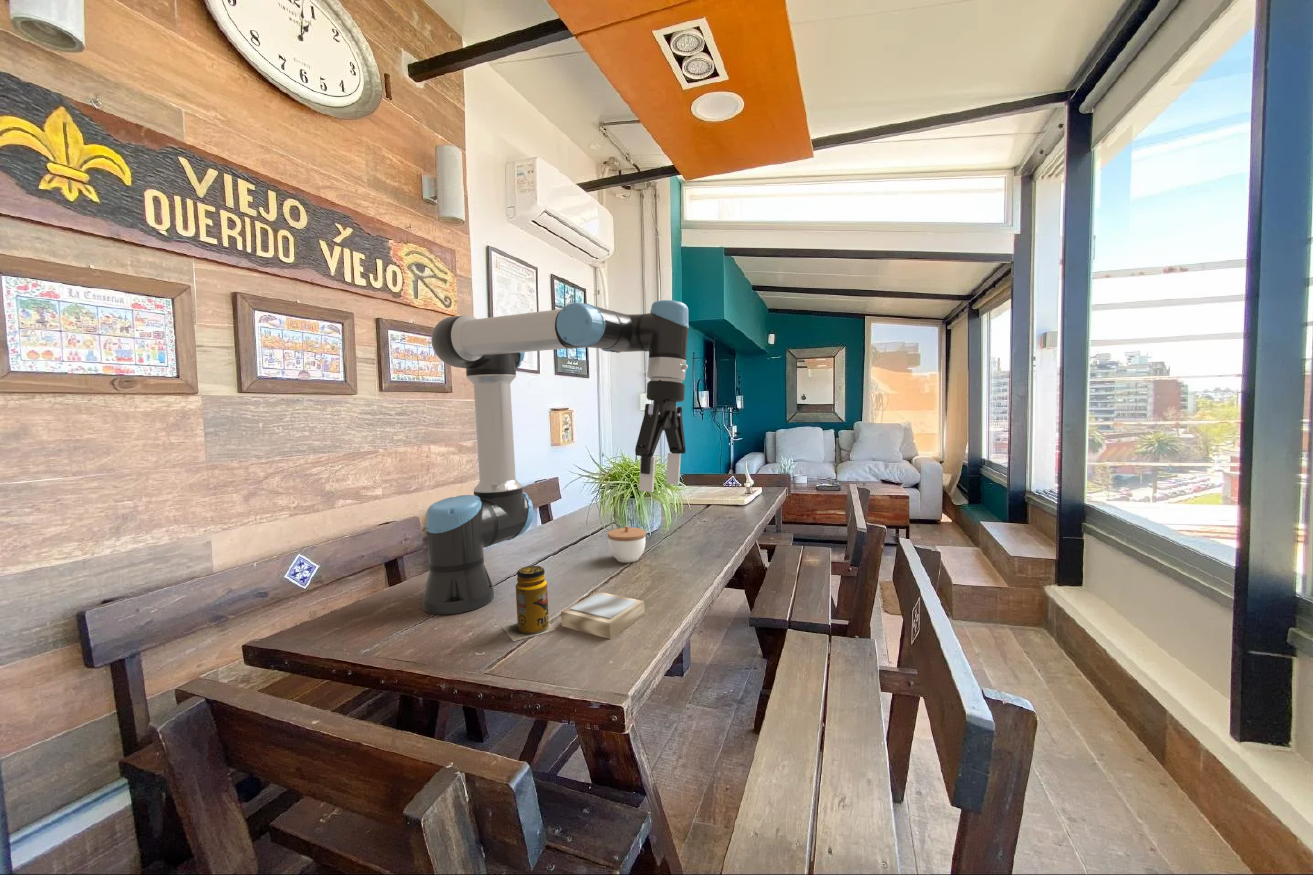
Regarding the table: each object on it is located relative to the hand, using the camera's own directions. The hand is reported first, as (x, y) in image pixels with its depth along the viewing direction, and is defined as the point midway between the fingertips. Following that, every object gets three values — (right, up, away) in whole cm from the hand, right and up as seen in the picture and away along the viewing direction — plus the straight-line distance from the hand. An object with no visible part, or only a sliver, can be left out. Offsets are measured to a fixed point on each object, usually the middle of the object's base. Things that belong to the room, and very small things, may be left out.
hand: (660, 487), depth 103 cm
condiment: (-26, -28, -1) cm, 38 cm away
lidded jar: (-9, -25, +42) cm, 49 cm away
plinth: (-11, -27, +1) cm, 29 cm away
